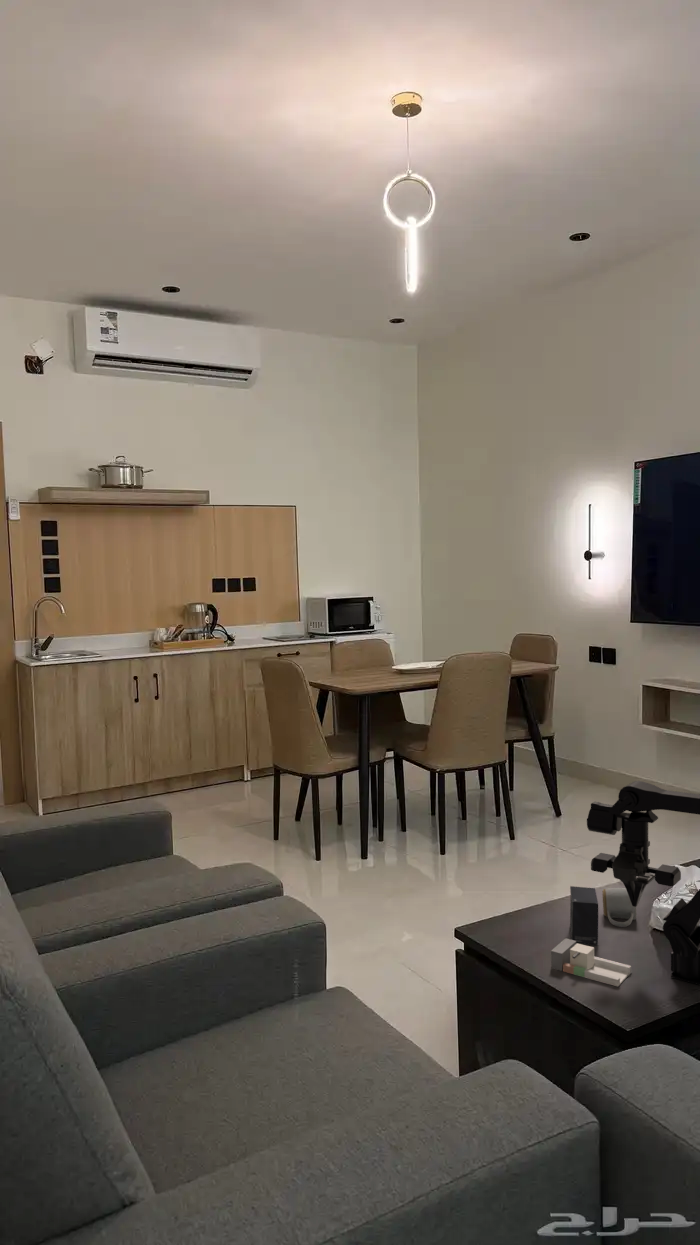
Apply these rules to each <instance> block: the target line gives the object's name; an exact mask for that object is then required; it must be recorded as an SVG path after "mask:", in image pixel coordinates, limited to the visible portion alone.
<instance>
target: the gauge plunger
mask: <svg viewBox="0 0 700 1245" xmlns="http://www.w3.org/2000/svg"><path fill="white" fill-rule="evenodd" d="M594 956H595V947H594V946H589V945H587V944H578V943H577V944H576V945H575V946H574V947H572V948H571V949H570V964H571V965H575V966H579V967H582V968H586V969H591V968H592V967H593V966H594Z"/></svg>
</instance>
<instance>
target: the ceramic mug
mask: <svg viewBox="0 0 700 1245" xmlns="http://www.w3.org/2000/svg"><path fill="white" fill-rule="evenodd" d="M601 895H602V910H603V912H602V913H603V915H604V916H605V918H606V917H607V918H608V921H609V922H610V924H611V925H613V926H615V927H619V928H626V927H628V926H630V925H631V924H632V922H633V920H637V907H634V906H632V903H631V901H630V898H629V895H628V892H627V890H626V888H625V887H608V888H604V889H603V890H602V894H601ZM614 919H624V920H625V919H626V921H616V920H614Z"/></svg>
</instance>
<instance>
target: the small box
mask: <svg viewBox="0 0 700 1245" xmlns="http://www.w3.org/2000/svg"><path fill="white" fill-rule="evenodd" d="M569 889H570V891H569V892H570V895H569V896H570V903H569V904H570V910H569V912H570V913H569V915H570V916H569V918H570V919H569V929H570V930H569V931H570V940H574V941H576V944H577V943H578V944H582V945H587V946H589V945H592V946H598V945H599V901H598V896H597V889H596V888H595V887H587V886H586V887H583V886H573V885H570V888H569Z"/></svg>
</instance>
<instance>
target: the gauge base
mask: <svg viewBox="0 0 700 1245" xmlns="http://www.w3.org/2000/svg"><path fill="white" fill-rule="evenodd" d="M575 945H576V941H574V940H571V938H566V937H565V938H564V939H563V940H562V941H561V942H559V943H558V944H557V945H556V946H555V947H554V948H552V949H551V951H550V962H551V963H550V965H551V966H550V969H552V970H557V971H560V972H564V973H568V974H572V975H575V976H577V977H578V976H579V977H582V978H586V979H588V980H592V981H597V982H600V983H604V984H606V985H611V986H615V987H617V988H618V987H619V986H621V984H622V983H623V982H624V981H625V980H626V979H627V978H628V976H630V975H631V974H632V966H631V965H630V964H627V963H621V962H617V961H614V960H610V959H606V958H601V957H598V956H595V955H594V966H593V967H592V968H591V969H586V968H582V967H579V966H575V965H571V964H570V949H571V948H572V947H574V946H575Z"/></svg>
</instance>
